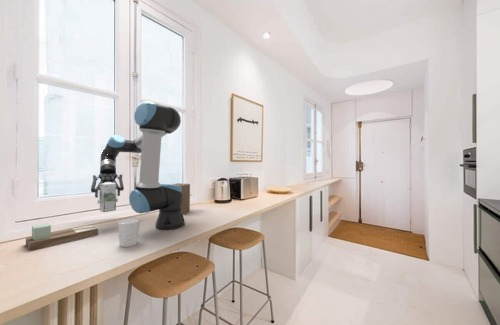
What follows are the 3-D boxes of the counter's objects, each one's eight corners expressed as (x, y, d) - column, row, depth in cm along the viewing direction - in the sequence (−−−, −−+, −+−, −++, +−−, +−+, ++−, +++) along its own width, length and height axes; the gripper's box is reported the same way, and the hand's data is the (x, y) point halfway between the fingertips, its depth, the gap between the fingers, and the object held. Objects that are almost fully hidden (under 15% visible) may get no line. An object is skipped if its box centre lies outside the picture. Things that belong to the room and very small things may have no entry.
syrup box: (112, 209, 114) (112, 182, 114) (116, 210, 110) (116, 182, 110) (99, 210, 110) (99, 183, 110) (103, 212, 106) (103, 183, 106)
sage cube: (50, 237, 90) (50, 225, 90) (34, 240, 86) (34, 228, 86) (48, 234, 93) (48, 223, 93) (31, 237, 89) (31, 226, 89)
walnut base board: (98, 234, 102) (98, 228, 102) (29, 250, 83) (29, 243, 83) (90, 230, 108) (90, 224, 108) (25, 244, 89) (25, 237, 89)
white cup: (117, 249, 86) (117, 224, 86) (118, 242, 93) (118, 219, 93) (138, 245, 90) (139, 222, 90) (138, 239, 97) (139, 217, 96)
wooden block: (182, 215, 140) (183, 185, 139) (169, 214, 142) (169, 184, 141) (189, 211, 149) (190, 183, 149) (177, 211, 151) (177, 183, 151)
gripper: (85, 164, 113) (82, 198, 99) (128, 163, 124) (130, 194, 110) (86, 173, 117) (83, 207, 104) (127, 172, 128) (129, 203, 115)
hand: (107, 201), depth 107 cm, fingers closed on syrup box, 7 cm apart
